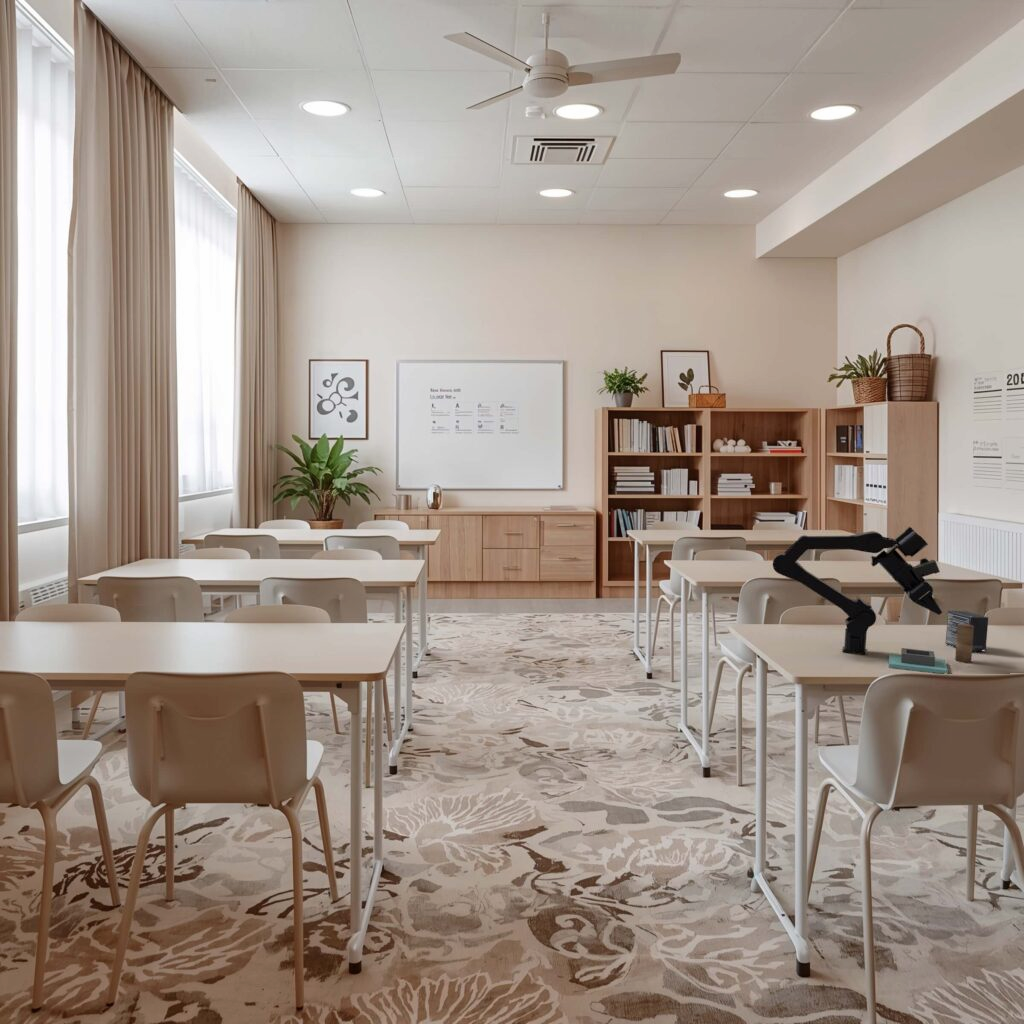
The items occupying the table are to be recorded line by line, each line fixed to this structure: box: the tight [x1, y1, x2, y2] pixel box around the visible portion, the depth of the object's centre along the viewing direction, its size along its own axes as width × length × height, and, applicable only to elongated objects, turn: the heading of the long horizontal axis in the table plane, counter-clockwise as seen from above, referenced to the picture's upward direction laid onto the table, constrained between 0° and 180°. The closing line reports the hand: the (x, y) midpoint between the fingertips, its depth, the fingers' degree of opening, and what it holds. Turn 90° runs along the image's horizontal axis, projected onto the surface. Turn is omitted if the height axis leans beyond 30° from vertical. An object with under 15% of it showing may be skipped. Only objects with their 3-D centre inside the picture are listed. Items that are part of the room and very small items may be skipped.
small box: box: [944, 610, 989, 651], centre depth 265 cm, size 11×6×10 cm, turn 9°
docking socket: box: [888, 647, 949, 674], centre depth 241 cm, size 14×14×4 cm
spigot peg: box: [954, 624, 974, 663], centre depth 248 cm, size 4×4×10 cm
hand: (938, 611), depth 248 cm, fingers open, 9 cm apart
